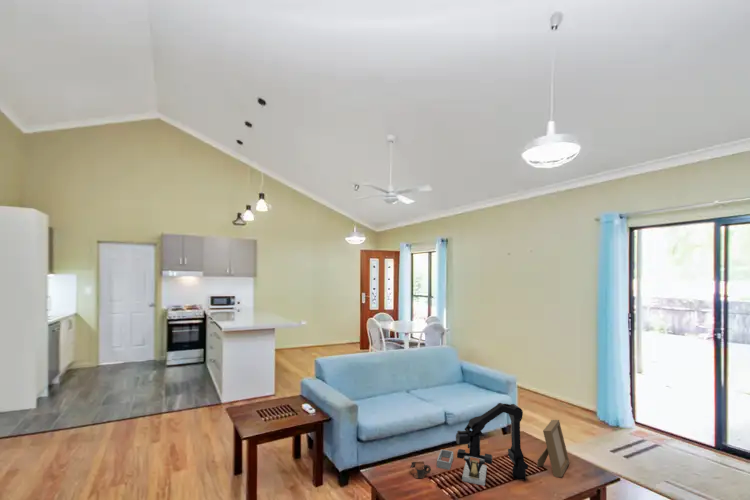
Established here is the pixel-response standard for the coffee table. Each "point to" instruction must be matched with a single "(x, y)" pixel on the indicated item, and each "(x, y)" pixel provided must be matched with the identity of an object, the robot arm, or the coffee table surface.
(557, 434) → the photo frame
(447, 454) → the gray hollow rectangular block
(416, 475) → the pottery mug
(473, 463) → the pale yellow rod
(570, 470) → the coffee table surface
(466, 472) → the plate
